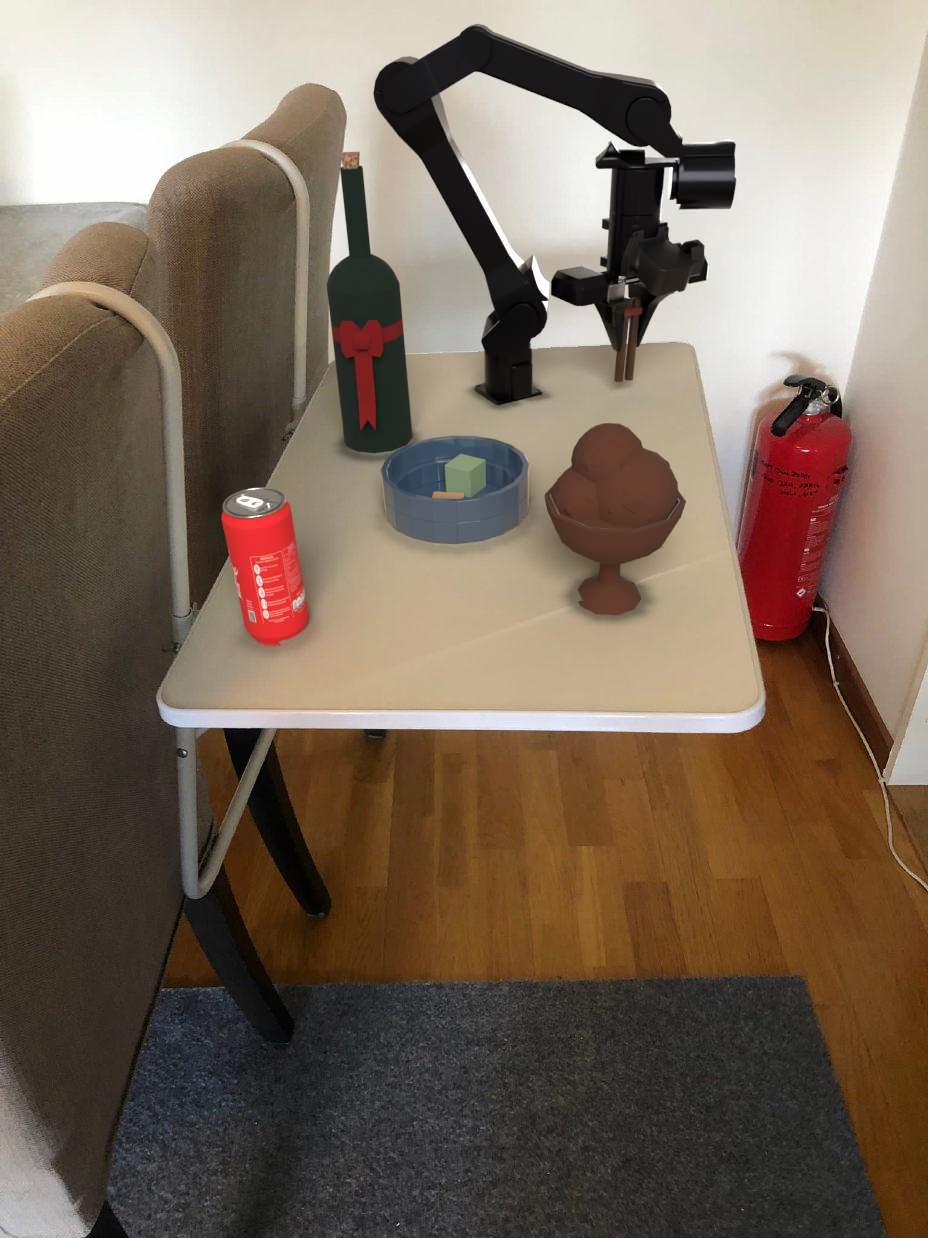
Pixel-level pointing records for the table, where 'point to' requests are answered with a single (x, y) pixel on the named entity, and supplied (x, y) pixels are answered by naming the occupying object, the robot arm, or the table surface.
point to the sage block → (465, 475)
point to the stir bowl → (454, 520)
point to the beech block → (448, 495)
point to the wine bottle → (367, 332)
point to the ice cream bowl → (613, 510)
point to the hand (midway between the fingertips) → (625, 348)
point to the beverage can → (265, 564)
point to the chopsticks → (634, 315)
